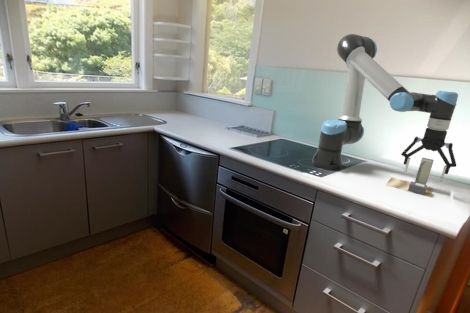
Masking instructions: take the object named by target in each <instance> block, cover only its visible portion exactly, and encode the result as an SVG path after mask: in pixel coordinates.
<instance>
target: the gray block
mask: <svg viewBox="0 0 470 313" xmlns="http://www.w3.org/2000/svg"><path fill="white" fill-rule="evenodd" d="M410 182H411V183H410V185H409V189H408V191H407V192H409V191H411V192H410V193H412V192H414V193H413V194H416V193H418V194H417V195H419V194H421V195H420V196H423V195H424V194H425V191H426V188H427V187H428V185H427V184H426V185H424V184H420V183H416V182H415V181H410Z"/></svg>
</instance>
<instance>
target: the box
mask: <svg viewBox="0 0 470 313" xmlns="http://www.w3.org/2000/svg"><path fill="white" fill-rule="evenodd" d="M433 164H434V159H430V158H426V157H422V158H421V160H420V163H419V166H418V170H417V173H416V177H415V180H414V182H416V183H420V184H424V185H427V184H428V180H429V177H430V173H431V171H432V167H433Z"/></svg>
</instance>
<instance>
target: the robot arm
mask: <svg viewBox="0 0 470 313" xmlns="http://www.w3.org/2000/svg"><path fill="white" fill-rule="evenodd" d="M336 47H337V48H336V51H337V55H338V56H339V58H340V59H342V60H343V62H345V66H346V67H347V68H348V69H347V73H346V74H347V75H346V83H345V89H344V90H345V91H344V97H343V105H342V112H341V115H339V117H338V119H328V120H327V119H326V120H325V121H324V122H323V123H322V124H321V125H322V126H321V127H320V135H319V139H318V140H319V141H318V146H317V150H316V152H315V154H314V155H313V157H312V161H311V163H312V165H313V166H315V167H317V168H320V169H323V170H324V169H325V170H328V171H329V170H330V171H331V170H332V171H338V170H341V169H342V168H343V158H342V150H343V146H344V145H352V144H355V143H358V142H359V141H361V140H362V138H363V136H364V134H365V129H364V126H363V125H362V118H361V117H360V112H361V107H362V106H361V105H362V100H363V93H364V86H365V80H367V82H369V84H370V85H371V86H373V87H374V88H375V89H376V90H377V91H378V92H379V93H380V94H381V95H382V96H383V97H384V98H385V99H387V101H388V102H389V106H390V108H391V109H392V110H394V111H395V112H400V113H401V112H402V113H404V112H422V113H426V114H427V113H429V114H430V115H429V117H428V121H427V125H426V126H427V128H426V129H425V131H424V135H423V137H422V138H421V137H418V136H415V137H414V139H413V141H412V142H411V143H410V144H409V145H408V146H407V147H406V148H404V149H405V150H403V151H402V152H401V156H402V157H404V160H403V165H405V168H404V171H403V172H404V173H407V172H408V168H409V165H410V161H411V156H413V155H416V153H418V152H419V151H421V150H423V149H425V150H426V151H432V152H436V151H437V153H438V154H439V156H440V157H441V159H442V161H443V162H444V164H445V165H444V166H443V169H442V172H441V174H440V175H441V176H440V179H439V182H443V180H444V176H445V175H448V174H449V171H450V170H451V169H450V168H456V167H457V162H456V158H455V155H454V151H453V145H454V144H453V142H445V141H446V137H447V133H448V130H449V128H450V124H451V121H452V117H453V115H454V112H455V109H456V106H457V102H458V99H459V98H458V97H459V94H458V93H457V92H455V91H454V92H453V91H446V90H445V91H444V90H437V91H436V93H435V94H429V93H421V92H414V91H413V92H412V91H411V92H410V91H409V90H408V89H406V88H405V87H404V86H403V85H402V84H401V83H400V82H399V81H398V80H397V79H396V78H394V76H392V75H391V74H390V73H389V72H388V71H387V70H386V69H385V68H383V66H381V65H380V64H379V63H378V62H377V61H375V59H374V58H375V57H376V54H377V52H378V46H377V43H376V41H375V40H374V39H372V38H371V37H368V36H363V35H359V34H355V33H349V34H346V35H343V37H342V38H341V39H340V40H339V41H338V44H337V46H336ZM419 142H421V145H420V146H419V147H416V148H415V149H413V150H412V151H410V150H411V149H412V148H413V147H414V146H415V145H416V144H417V143H419ZM443 147H446V149H448V154H449V157H450V161H451V163H450V161H449V160H448V158H447V156H446V155H445V153H444V151H443V149H442V148H443ZM409 151H410V152H409Z"/></svg>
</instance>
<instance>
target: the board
mask: <svg viewBox="0 0 470 313" xmlns="http://www.w3.org/2000/svg"><path fill="white" fill-rule="evenodd" d="M410 183H411V181H407V180H403V179H400V178H396V177H392V176H391V177H390V178H389V179H388V181H387V182H386V184H385V186H388V187H392V188H396V189H398V190H401V191H404V192H406V191H407V192H409V193H413V194H417V195H420V196H423V197H427V198H432V194H433V189H434V187H431V186H427V188H426V191H425V194H424V195H421V194H418V193H414V192H411V191H408V189H409V185H410Z"/></svg>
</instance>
